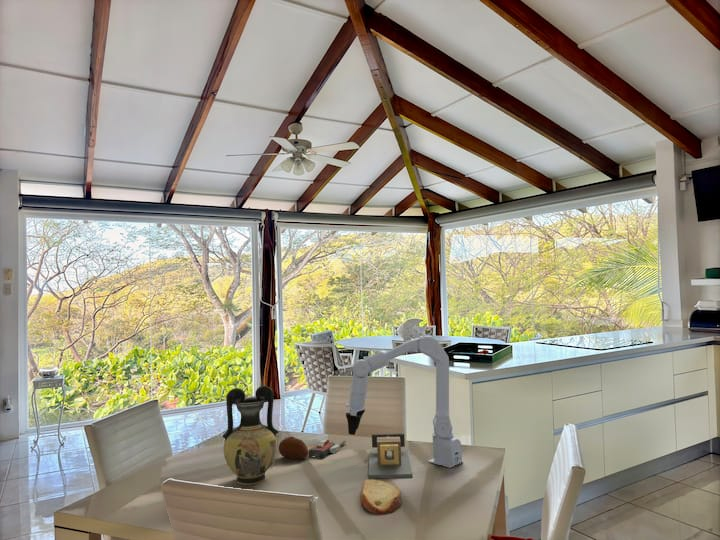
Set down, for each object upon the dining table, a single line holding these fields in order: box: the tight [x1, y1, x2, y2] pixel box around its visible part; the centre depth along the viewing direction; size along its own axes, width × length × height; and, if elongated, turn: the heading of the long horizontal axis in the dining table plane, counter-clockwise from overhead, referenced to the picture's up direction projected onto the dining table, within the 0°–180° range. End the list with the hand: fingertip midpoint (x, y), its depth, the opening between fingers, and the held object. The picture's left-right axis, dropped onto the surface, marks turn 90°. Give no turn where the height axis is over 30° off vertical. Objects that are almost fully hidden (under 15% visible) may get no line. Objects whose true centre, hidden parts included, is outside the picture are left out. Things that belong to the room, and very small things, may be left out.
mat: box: [368, 449, 413, 479], centre depth 166 cm, size 26×14×1 cm, turn 178°
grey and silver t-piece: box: [371, 432, 406, 459], centre depth 167 cm, size 22×12×4 cm, turn 178°
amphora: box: [222, 385, 279, 486], centre depth 157 cm, size 18×17×30 cm
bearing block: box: [376, 437, 402, 466], centre depth 166 cm, size 6×8×8 cm
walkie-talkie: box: [308, 439, 347, 458], centre depth 185 cm, size 9×4×20 cm
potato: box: [278, 436, 309, 460], centre depth 177 cm, size 8×12×8 cm, turn 78°
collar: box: [380, 444, 399, 465], centre depth 160 cm, size 2×6×6 cm, turn 88°
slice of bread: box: [360, 478, 403, 516], centre depth 137 cm, size 18×18×4 cm
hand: (353, 431), depth 171 cm, fingers open, 7 cm apart
